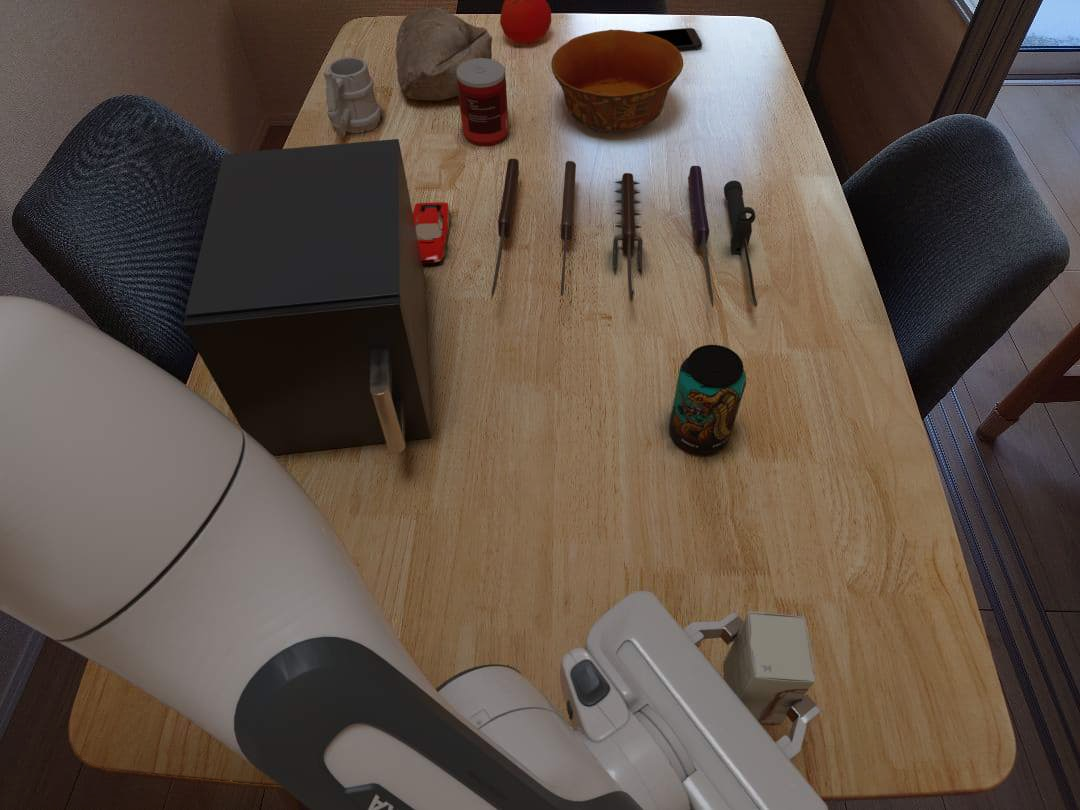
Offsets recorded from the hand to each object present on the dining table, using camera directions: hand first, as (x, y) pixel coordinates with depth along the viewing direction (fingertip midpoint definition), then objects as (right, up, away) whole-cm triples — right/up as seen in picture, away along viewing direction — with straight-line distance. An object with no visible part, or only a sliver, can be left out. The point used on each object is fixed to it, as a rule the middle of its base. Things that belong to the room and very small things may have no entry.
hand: (774, 660), depth 58 cm
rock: (-35, +77, +79) cm, 115 cm away
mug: (-49, +66, +71) cm, 109 cm away
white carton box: (-1, -4, +4) cm, 6 cm away
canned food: (-27, +65, +69) cm, 99 cm away
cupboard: (-42, +26, +39) cm, 63 cm away
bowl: (-5, +69, +72) cm, 99 cm away
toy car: (-34, +43, +53) cm, 76 cm away
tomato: (-21, +90, +89) cm, 128 cm away
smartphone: (+5, +88, +86) cm, 124 cm away
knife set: (-6, +41, +50) cm, 65 cm away
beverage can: (+1, +16, +30) cm, 34 cm away
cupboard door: (-40, +13, +28) cm, 51 cm away
